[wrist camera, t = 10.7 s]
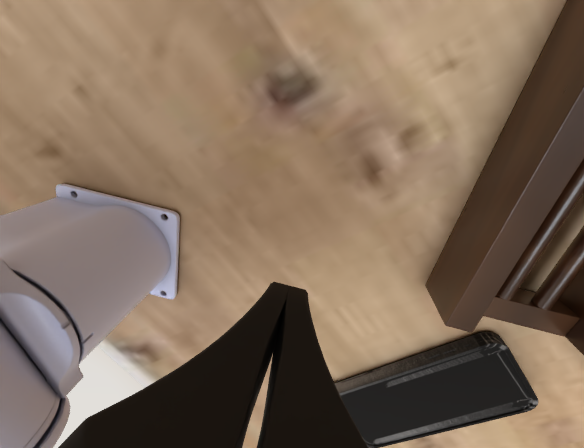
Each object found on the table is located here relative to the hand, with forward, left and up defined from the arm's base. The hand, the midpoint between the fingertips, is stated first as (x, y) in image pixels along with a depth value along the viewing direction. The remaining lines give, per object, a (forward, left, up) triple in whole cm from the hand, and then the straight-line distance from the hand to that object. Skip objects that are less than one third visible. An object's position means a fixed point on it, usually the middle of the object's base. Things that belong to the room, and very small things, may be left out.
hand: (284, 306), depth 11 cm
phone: (+13, -13, -9) cm, 21 cm away
